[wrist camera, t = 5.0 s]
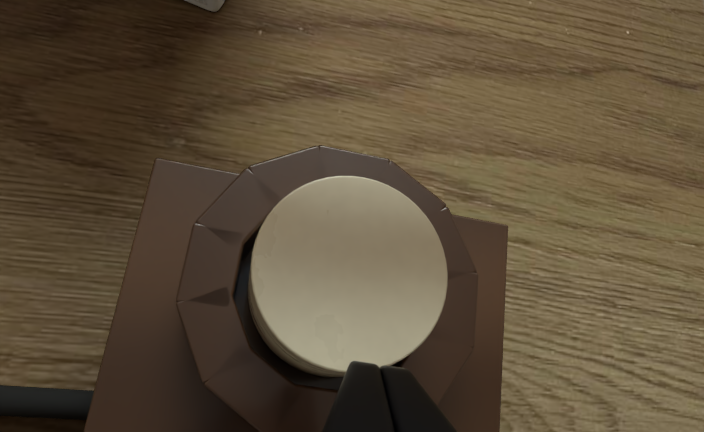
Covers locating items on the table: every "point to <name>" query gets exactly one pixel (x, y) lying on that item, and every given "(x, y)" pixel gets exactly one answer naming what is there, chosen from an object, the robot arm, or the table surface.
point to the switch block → (236, 321)
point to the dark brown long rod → (44, 402)
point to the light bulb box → (208, 4)
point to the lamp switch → (346, 276)
